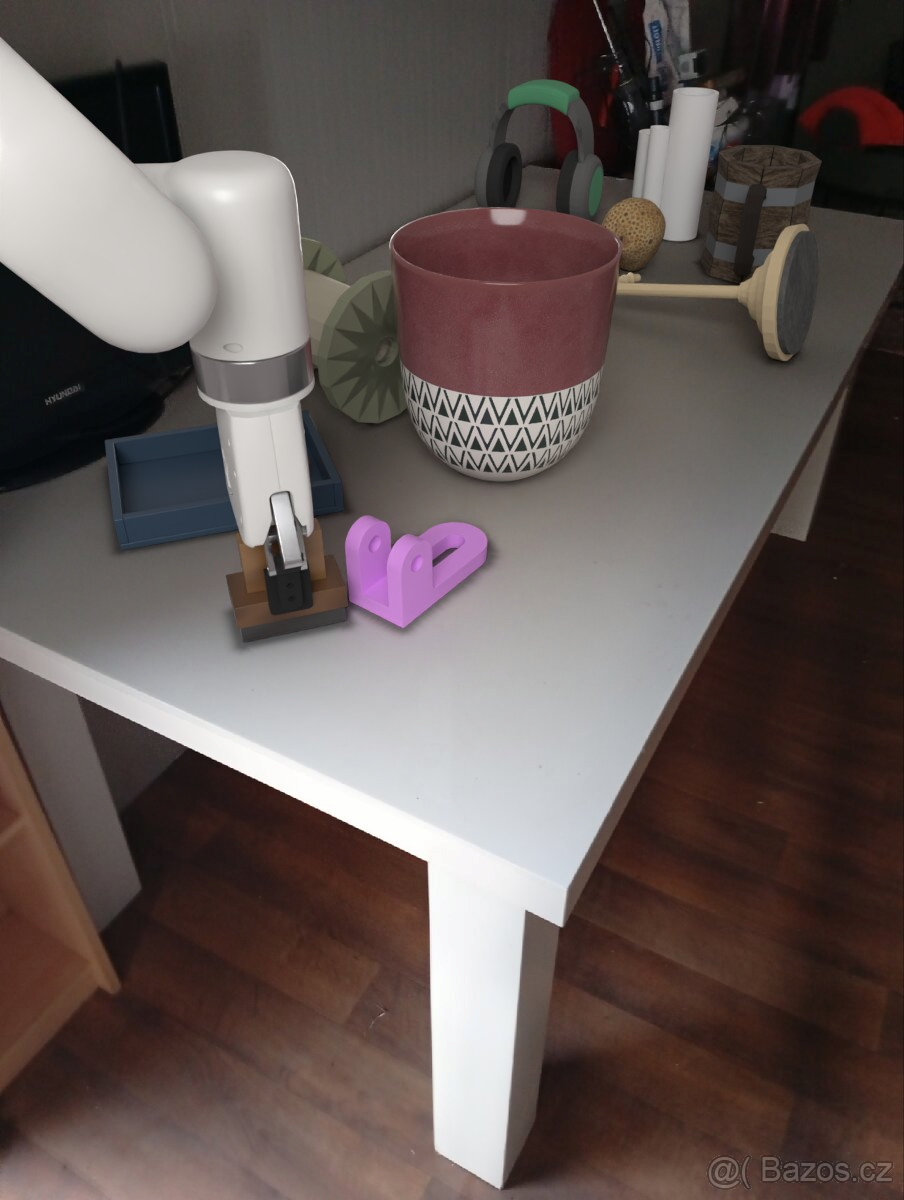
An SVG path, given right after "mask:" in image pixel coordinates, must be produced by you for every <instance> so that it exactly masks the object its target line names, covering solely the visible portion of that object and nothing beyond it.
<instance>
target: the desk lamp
mask: <svg viewBox="0 0 904 1200" xmlns="http://www.w3.org/2000/svg"><path fill="white" fill-rule="evenodd" d="M640 281H642V276H641V275H640V273H633V272H632V271H628V273H627V274H621V276H620V275H619V280H618V286H617V291H616V296H628V297H629V296H632V297H659V298H661V297H662V298H688V299H689V298H691V299H692V298H695V299H724V300H737V301H738V303H739V304H741V305H743V306H744V307H746V308H747V309H748V313H749V316H750V318H751V319H752V320H754V321H756V324H757V328H758V331H759V333H761V335H762V340H763V346H764V349H765V352H766V354H767V356H768V357H770V358H771V359H772V360H777V361H781V362H787V361H789V360H790V359H791V358H792V357H793V356H794V355H796V354H797V353H798V352H799V351H801V349H802V346H803V345H804V343H805V340H806V338H807V336H808V332H809V330H810V326H811V324H812V318H813V314H814V311H815V305H816V298H817V291H818V283H819V247H818V243H817V239H816V236H815V234H814V233H813V231H811V230H810V229H809V226H808V225H807V226H806V225H805V224H798V225H793V226H789V227H786V228H785V229H784V230H783V231H782V233H781V234H780V236H779V238H778V240H777V242H776V245H775V247H774V250H773V251H772V252H771V253H770V254H769V255H768V257H767V258H766V260H765V263H764V265H762V266H760V267H758V268H757V269H756V270H755V272H754V274H753V276H752V278H750V279H748V280H746V281H745V282H742V283H741V284H739V285H723V284H722V285H720V284H716V285H715V284H678V283H676V284H675V283H640Z"/></svg>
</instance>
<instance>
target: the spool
mask: <svg viewBox="0 0 904 1200" xmlns="http://www.w3.org/2000/svg"><path fill="white" fill-rule="evenodd" d="M301 247H302V258H303V268H304V279H305V289H306V299H307V310H308V320H309V330H310V339H311V350H312V360H313V370H315V369H317V370H318V379H319V385H320V387H321V389H322V391H323V392H324V394H325V396H326V398H327V400H328V402H329V404H330V406H331V407H334V409H335V410H337V411H338V412H340V413H341V414H343V415H344V416H346V417H347V418H349V419H351V420H353V421H355V422H357V423H364V424H367V423H368V424H381V423H383V422H385V421H388V420H390V419H392V418H394V417H396V416H399V415H400V414H402V413H403V412H404V411H405V410H406V409H408V408H407V404H406V401H405V397H404V392H403V385H402V378H401V367H400V357H399V348H398V338H397V326H396V314H395V303H394V293H393V284H392V274H391V270H388V269H383V270H379V271H376V272H374V273H370V274H367V275H364V276H361V277H360V278H359V279H357V281H355V282H354V283H353V284H352V285H349V279H348V276H347V275H346V272H345V270H344V268H343V265H342V263H341V261H340V258H339V257H338V256H337V255H336V254H335V253H334V252H333V251H331V249H329V248H328V247H327V246H326V245H325V244H324V243H322V242H320V241H318V240H315V239H312V238H308V237H304V236H301Z"/></svg>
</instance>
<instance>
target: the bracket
mask: <svg viewBox="0 0 904 1200" xmlns="http://www.w3.org/2000/svg"><path fill="white" fill-rule="evenodd" d="M449 549H455V550H454V551H453V552H451V553H450V554H449V555H447V556H445V558H444V559H442V560H441V561H440V562H438V563H437V564H435V566H434V565H433V561H434V560H435V559H436V558H438V557H439V556H440V555H442V554H443V553H444V552H445V551H447V550H449ZM344 550H345V551H344V552H345V563H346V575H347V576H346V577H347V589H348V599H349V602H350V603H353V604H355V605H356V606H359V607H360V608H362V609H365V610H366V611H368V612H370V613H372V614H374V615H376V616H378V617H380V618H382V619H384V620H386V621H388V622H390V623H392V624H394V625H396V626H398V627H400V628H402V629H404V628H406V627H407V626H408V625H409V624H410V623H412V622H413V621H414V620H416V619H417V618H418V617H419V616H421V615H422V614H423V613H425V611H427V610H428V609H430V608H431V607H432V606H433V605H434V604H435V603H437V602H438V601H439V600H441V598H443V597H444V596H446V594H448V593H449V592H451V590H453V589H454V588H455V587H457V586H458V585H459V584H460V583H462V582H463V581H464V580H466V578H468V577H469V576H470V575H471V574H473V573H474V572H475V571H476V570H478V569H479V568H481V567H482V565H484V563H485V562H486V560H487V557H488V537H487V535H486V534H485V532H484V531H483V530H481V529H480V528H478V527H477V526H474V525H473V524H469V523H466V522H459V521H458V522H455V521H451V522H443V523H439V524H437V525H434V526H432V527H430V528H428V529H427V530H426V531H424V532H423V533H422V534H420V535H419V536H417V535H414V534H412V533H406V534H404V535H402V536H401V537H399V539H397V540H396V542H395V543H394V545H393V546H392V538H391V529H390V526H389V525H388V523H387V522H385V521H383V520H381V519H378V518H376V517H374V516H372V515H368V514H367V515H363V516H360V517H359V518H358V519H357V520H355V522H354V523H353V524H352V525H351V527H350V529H349V530H348V532H347V535H346V538H345V543H344Z"/></svg>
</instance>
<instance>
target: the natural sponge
mask: <svg viewBox="0 0 904 1200" xmlns="http://www.w3.org/2000/svg"><path fill="white" fill-rule="evenodd" d="M600 225H601V226H603V227H605V228H607V229H609V230H610V231H612V232H613V233H614V234H615V235H616V236H617V237H618V238H619V239H620V241H621V243H622V247H623V251H622V259H621V267H620V269H621V268H622V269H623V270H624V271H627V272H635V271H639V270H640V269H642V268H643V267H645V266H646V265H647V264H648V263H649V262H650V261H651V260H652V259H653V258H654V257H655V255H656V254H657V253H658V250H659V248H660V247H661V244H662V242H663V240H664V239H663V238H664V234H665V228H666V222H665V218H664V215H663V214H662V212H661V210H660V209H659V208H658V206H657V205H656V204H655V203H653V202H652V201H650V200H648V199H644V198H638V197H633V198H632V197H628V198H625V199H623V200H620V201H619V202H617V203H616V204H614V205H613V206H611V207H610V209H609V210H608V211H607V212H606V214H605V216H604V218H603V220H602V222H601V224H600Z"/></svg>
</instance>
